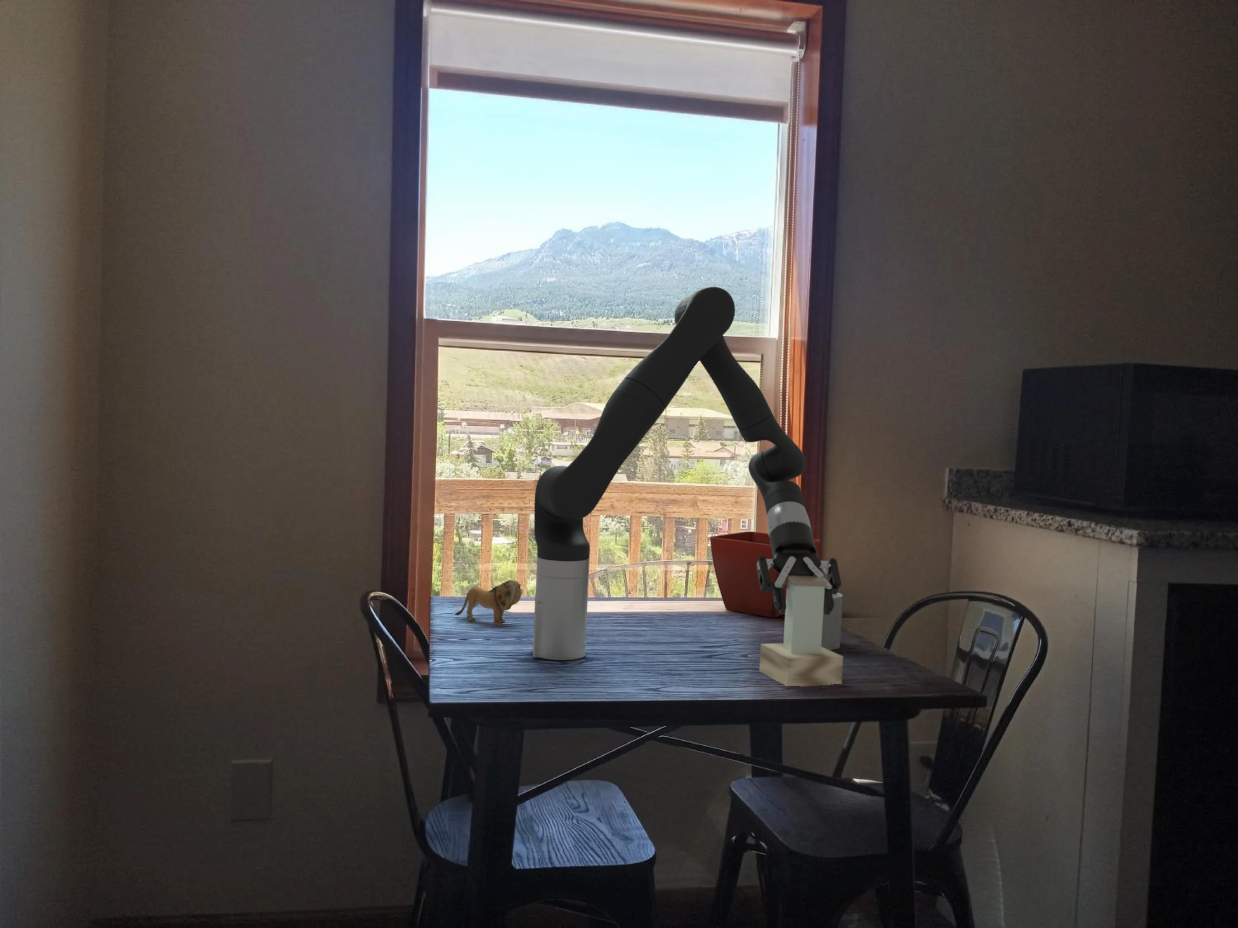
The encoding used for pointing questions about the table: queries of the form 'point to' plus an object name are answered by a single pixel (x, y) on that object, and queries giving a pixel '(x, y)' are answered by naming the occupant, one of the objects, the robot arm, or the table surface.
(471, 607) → the lion figurine
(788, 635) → the sage canister
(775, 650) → the maple block
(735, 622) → the table surface
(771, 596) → the plant pot
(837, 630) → the coffee mug
